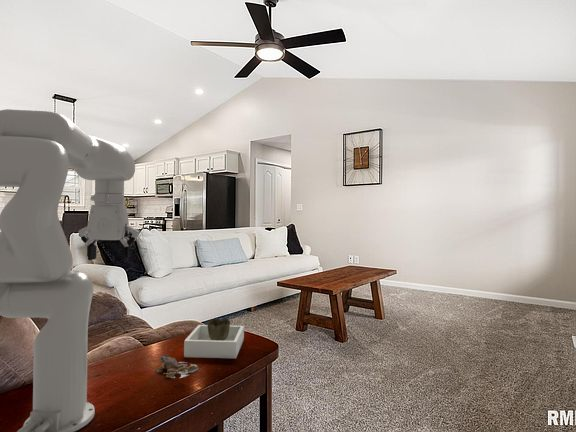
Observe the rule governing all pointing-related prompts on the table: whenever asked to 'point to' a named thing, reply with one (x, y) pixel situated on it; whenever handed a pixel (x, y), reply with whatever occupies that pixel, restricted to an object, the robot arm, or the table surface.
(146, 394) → the table surface
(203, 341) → the bin
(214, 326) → the embossed bronze vase
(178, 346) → the table surface
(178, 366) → the frog figurine
